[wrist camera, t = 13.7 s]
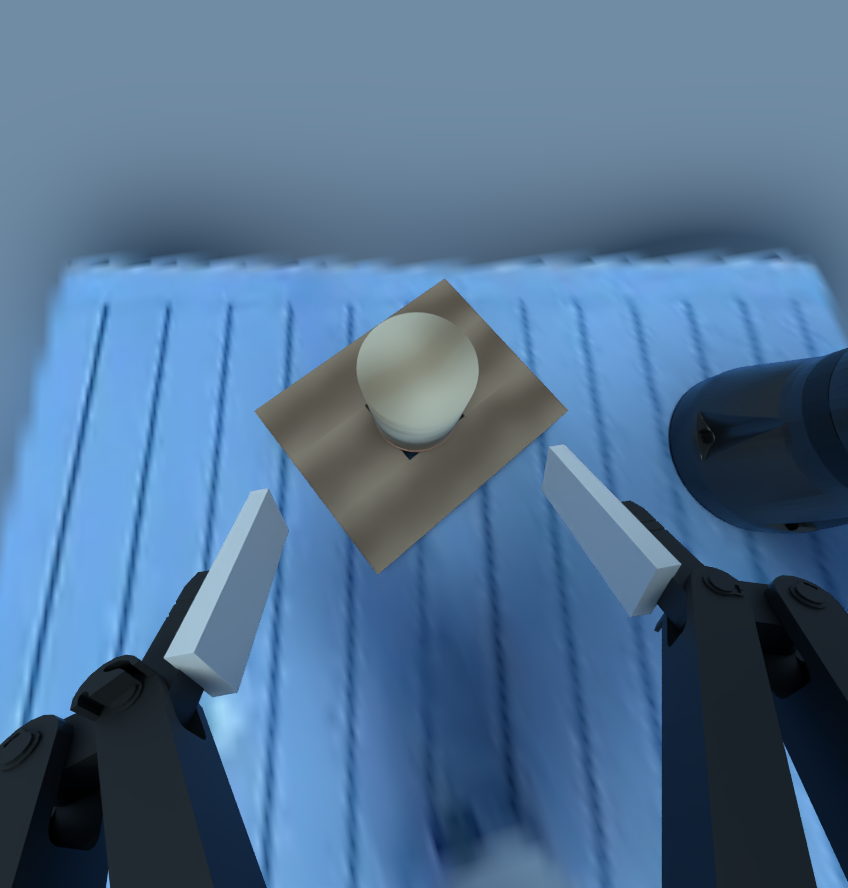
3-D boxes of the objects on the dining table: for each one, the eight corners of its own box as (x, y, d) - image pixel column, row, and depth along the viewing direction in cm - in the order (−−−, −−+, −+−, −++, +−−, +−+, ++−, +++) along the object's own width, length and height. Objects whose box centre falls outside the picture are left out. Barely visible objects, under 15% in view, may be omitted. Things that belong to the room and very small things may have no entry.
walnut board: (549, 422, 29) (568, 410, 25) (382, 565, 25) (377, 574, 22) (440, 303, 31) (444, 278, 27) (273, 422, 27) (254, 410, 24)
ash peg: (467, 427, 28) (504, 376, 17) (409, 474, 27) (408, 452, 16) (420, 373, 29) (426, 290, 18) (362, 416, 28) (330, 357, 17)
